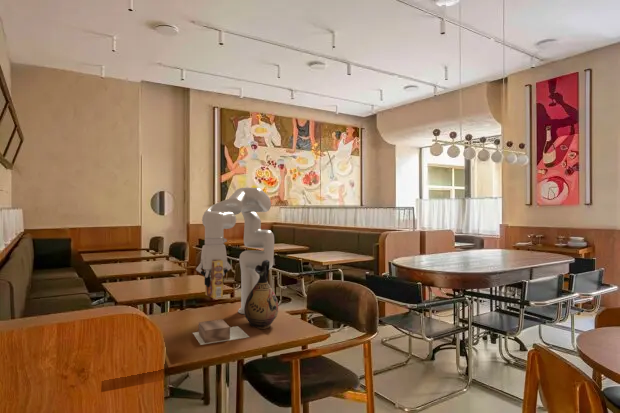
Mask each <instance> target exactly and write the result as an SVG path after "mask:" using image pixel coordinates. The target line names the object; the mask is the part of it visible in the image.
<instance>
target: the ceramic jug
mask: <svg viewBox="0 0 620 413" xmlns="http://www.w3.org/2000/svg"><path fill="white" fill-rule="evenodd" d="M269 265H270V262H269V261H268V260H264V261H263V262H262V265H261V266H260V265H257V266H256V268H255V271H256V272H257V273H258V274H259V277H260V278H259V280H258V282H257V284H256V285H255V286H254V288H253V289H252V290H251V292H250V294H249V295H248V297H247V300H246V303H245V307H244V313H245V314H244V317H245V318H246V320H247V322H248V323H249V325H250V326H251V327H254V328H257V330H258V329H259V330H265V329H269V328H270V327H271V326H272V323H273V322H274V321H275V320H276V319H277V317H278V313H279V302H278V298H277V295H276V294H275V292H274V290H273V288H272V287H271V285H270V284H269V281H268V276H269V271H270V269H269Z"/></svg>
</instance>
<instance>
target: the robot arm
mask: <svg viewBox="0 0 620 413" xmlns="http://www.w3.org/2000/svg"><path fill="white" fill-rule="evenodd" d="M271 206H272V201H271V198H270V196H268V194H267V193H266V192H265V191H264V190H263V189H261V188H259V187H239V188H237V189H236V190H235V191H234V193H232V194H231V196H230V197H228V198H227V199H224V200H222V201H220V202H217V203H214V204H212V205H210V206H209V207H208V208H207V209H206V210H205V211H204V213H203V214H202V219H201V222H202V225H203V226H204V245H202V248H201V253H200V263H199V264H198V266H197V267H196V268H195V270H196V272H198V273H199V274H201V276H203V277H204V285H206V287H209V277H208V274H209V271H210V270H211V269H212V261H213V260H223V284H224V282H225V279H224V276H225V275H226V274H228V271H230V270H231V269H232V268H233V267H232V265H231V264H230V262H229V261H228V255H227V248H226V245H225V243H226V242H228V238H225V236H224V234H225V233H224V229H225V230H227V229H232V228H234V227H235V225H236V224H237V217H236V216H237V215H239V214H242V217H243V220H244V230H243V245H244V246H245V247H246V248H250V250H244V251H242V252H241V253H240V254H239V259H238V260H239V267H240V275H241V276H240V279H241V280H240V281H241V283H240V284H241V286H240V288H241V289H240V291H241V294H240V296H241V297H240V306H241V307H239V309H238V310H237V313H239V314H241V315H245V313H244V307H245V303H246V300H247V297H248V295H249V294H250V292H251V290H252V289H253V288H254V286H255V285H256V284H257V282H258V280H259V278H260V275H259V274H258V273H257V272H256V271H255V268H256V266H257V265H260V266H261V265H262V262H263V261H264V260H268V261H269V262H270V265H269V270H270V269H272V268H273V265H274V255H275V254H274V252H275V234H274V233H273V232H272V230H269V229H262V228H261V227H262V226H261V225H262V220H261V218H260V215H258V213H267V212H269V211H270V210H271ZM251 248H252V249H263V250H251ZM202 269H203V270H204V271H203V270H202Z"/></svg>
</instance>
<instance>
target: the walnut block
mask: <svg viewBox="0 0 620 413" xmlns="http://www.w3.org/2000/svg"><path fill="white" fill-rule="evenodd" d="M230 327H231V326H229V324H227V322H226V321H225V320H224V319H222V318H220V319H214V320H213V319H212V320H206V321H199V322H198V332H199V335H200V337H201V338H202V339H203V341H204V342H205V343H209V342H216V341H222V340H228V339H230ZM228 341H229V340H228ZM222 342H223V341H222ZM216 343H217V342H216ZM209 344H210V343H209Z"/></svg>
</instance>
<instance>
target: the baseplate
mask: <svg viewBox="0 0 620 413" xmlns="http://www.w3.org/2000/svg"><path fill="white" fill-rule="evenodd" d="M192 335H193V336H194V337H195V339H196V340H197V341H198V344H199V345H200V346H201V345H209V344H215V343H222V342H226V341H234V340H240V339H246V338H250V336H249V335H248V334H247V333H246V332H245V331H244V330H243V328H241V327H239V326H238V325H237V326H232V327H231V326H230V339H228V340H222V341H216V342H209V343H205V342H204V341H203V339H202V338H201V337H200V335H199V331H196V332H195V331H194V332H192Z"/></svg>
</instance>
